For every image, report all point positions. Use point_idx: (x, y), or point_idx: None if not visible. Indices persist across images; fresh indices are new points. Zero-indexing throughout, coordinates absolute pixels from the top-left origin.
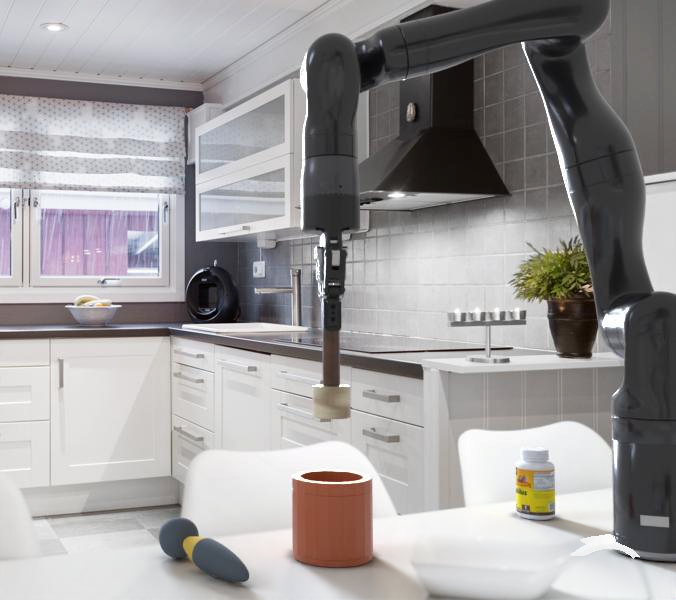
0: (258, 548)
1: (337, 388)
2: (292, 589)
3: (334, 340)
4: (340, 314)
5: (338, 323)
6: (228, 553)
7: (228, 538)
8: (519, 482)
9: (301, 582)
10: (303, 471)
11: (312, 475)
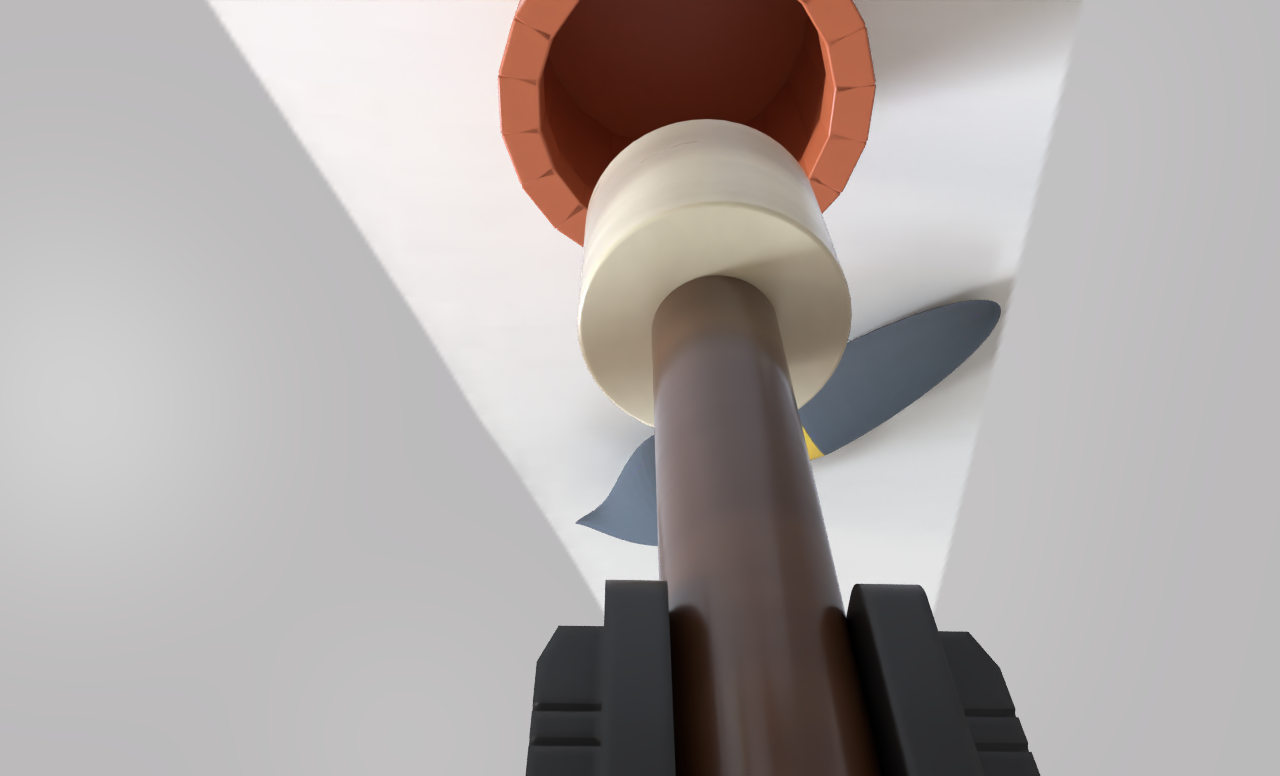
0: (573, 251)
1: (850, 301)
2: (1013, 176)
3: (828, 543)
4: (962, 724)
5: (990, 657)
6: (922, 375)
7: (453, 335)
8: None
9: (953, 145)
10: (557, 222)
11: (566, 177)
